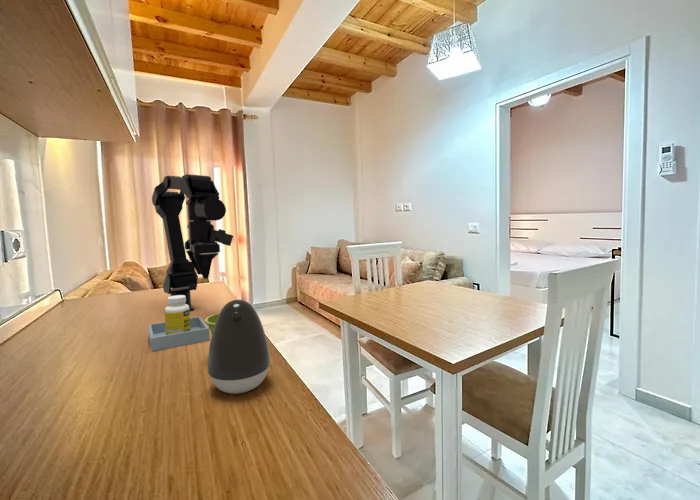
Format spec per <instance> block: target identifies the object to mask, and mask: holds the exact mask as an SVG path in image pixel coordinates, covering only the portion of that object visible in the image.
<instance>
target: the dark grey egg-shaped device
mask: <svg viewBox="0 0 700 500" xmlns="http://www.w3.org/2000/svg"><path fill="white" fill-rule="evenodd" d="M218 313H219V315H218V317H217V320H216V323H215V326H214V329H213V333H212V335H211V338H210V342H209V347H208V348H209V349H208V354H207V356H208V357H207V374H208V375H209V376H210V379H211V381H212V383H213V385H214V386H215V387H216V388H217V389H218V390H220V391H221V392H224V393H226V394H227V393H228V394H235V395H236V394H244V393H247V392H249V391H252V390H254V389H256V388H257V387H258V386H260V385H261V383H262V382H263V381H264V379H265V378H266V375H267V374H268V370H269V367H270V365H271V356H270V355H271V354H270V349H269V345H268V340H267V337H266V332H265V330H264V326H263V324H262V321H261V319H260V317H259V314H258V313H257V311H256V309H255V308H254V307H253V304H251V303H250V302H249V301H246V300H243V299H234V300H233V299H232V300H231V301H229V302H227V303H226V304H224V306H223V307H222V308H221V310H220V312H218Z"/></svg>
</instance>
